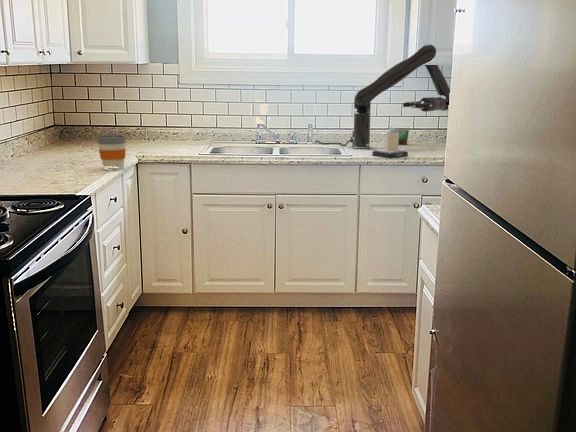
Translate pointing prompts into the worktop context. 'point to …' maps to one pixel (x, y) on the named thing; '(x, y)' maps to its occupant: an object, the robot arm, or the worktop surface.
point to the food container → (401, 134)
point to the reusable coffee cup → (112, 150)
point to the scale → (389, 153)
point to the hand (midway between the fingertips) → (409, 105)
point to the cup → (392, 141)
